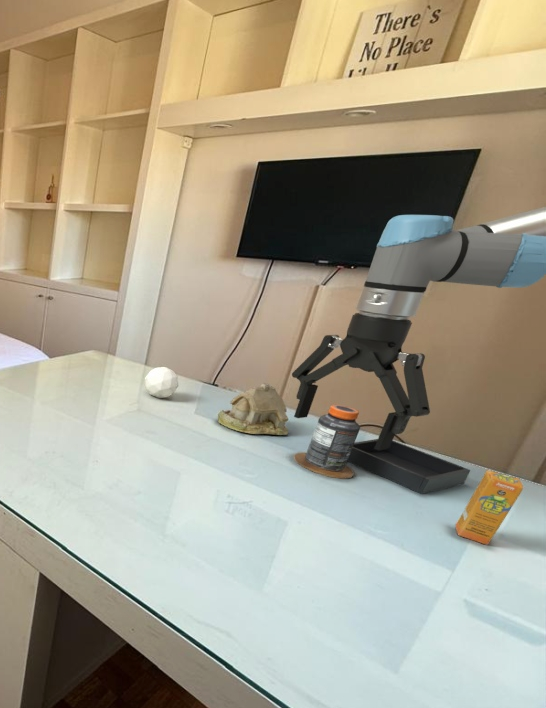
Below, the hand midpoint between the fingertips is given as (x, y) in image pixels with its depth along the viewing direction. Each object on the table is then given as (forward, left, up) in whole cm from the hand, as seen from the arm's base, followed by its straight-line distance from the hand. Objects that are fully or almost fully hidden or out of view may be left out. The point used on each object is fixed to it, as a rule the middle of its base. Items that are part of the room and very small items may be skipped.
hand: (337, 431), depth 82 cm
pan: (-5, -14, -7) cm, 16 cm away
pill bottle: (0, 0, -7) cm, 7 cm away
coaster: (0, 0, -7) cm, 7 cm away
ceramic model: (+17, -3, -7) cm, 19 cm away
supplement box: (-21, 0, -7) cm, 22 cm away
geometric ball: (+37, +5, -7) cm, 38 cm away
